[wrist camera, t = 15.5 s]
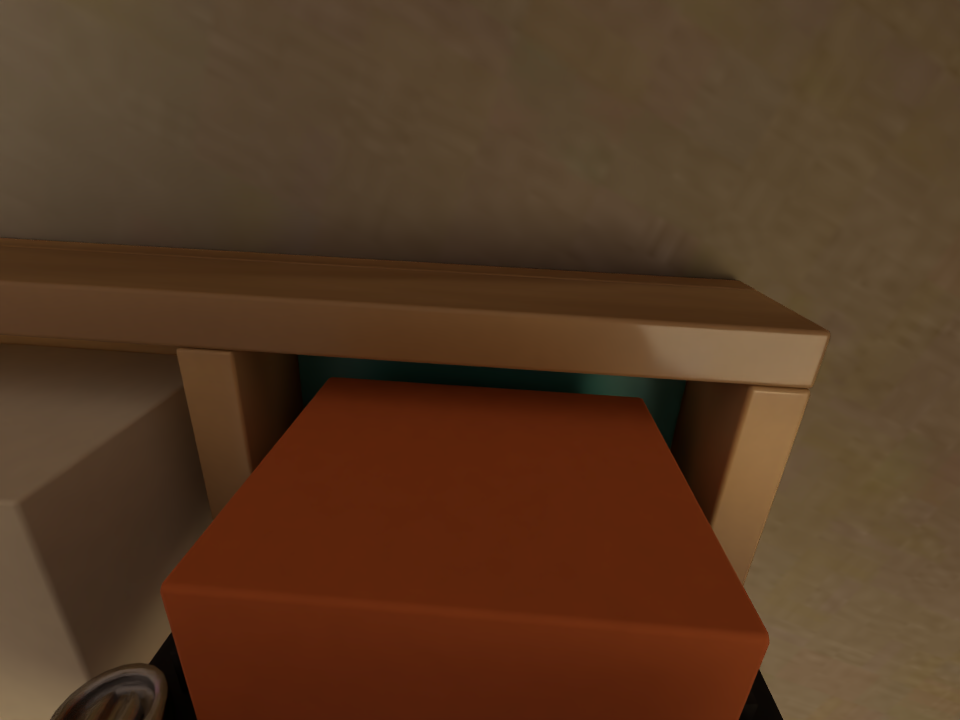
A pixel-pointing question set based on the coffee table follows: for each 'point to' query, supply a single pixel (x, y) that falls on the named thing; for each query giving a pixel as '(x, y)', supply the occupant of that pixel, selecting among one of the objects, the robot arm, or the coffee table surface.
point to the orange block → (464, 568)
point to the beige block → (89, 515)
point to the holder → (436, 348)
